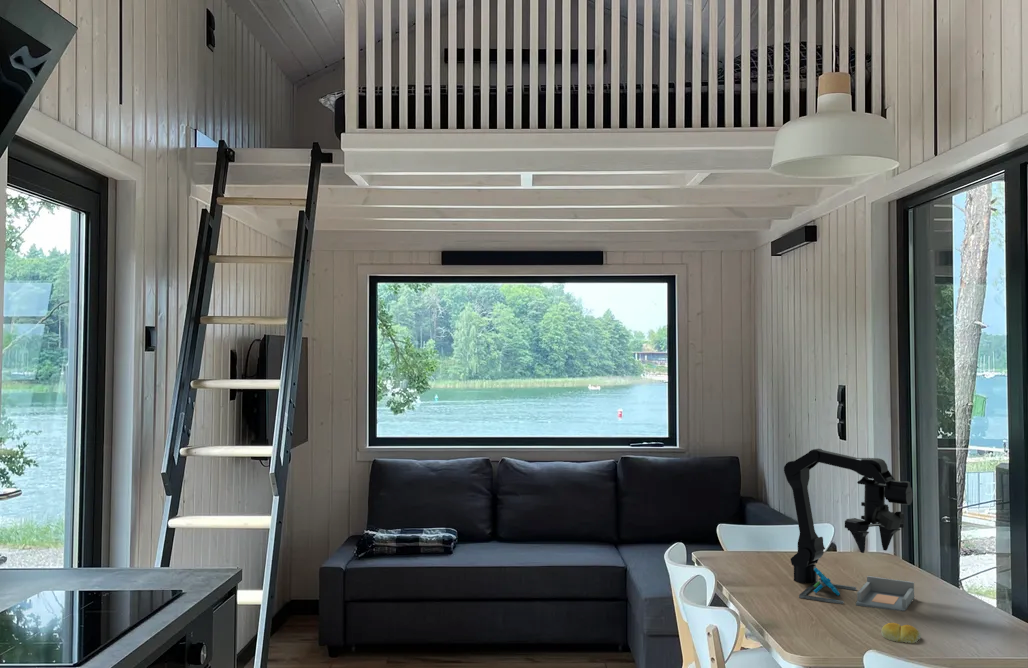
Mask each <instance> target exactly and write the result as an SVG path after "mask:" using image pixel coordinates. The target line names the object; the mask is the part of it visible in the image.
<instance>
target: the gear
mask: <svg viewBox="0 0 1028 668" xmlns="http://www.w3.org/2000/svg"><path fill="white" fill-rule="evenodd" d="M814 571H815V572H816V573H817V575H818V577H820V578H818V582H817V583H816V584H815V585H814V589H813V592H814V593H815V594H817V593H818V592H819V591H820V590H822V588H826V587H828V588H829V589H831V591H832V592H833V593H834V594H835V595H836V596H840V594H841V593H840V592H839V590H838V588H835V587H834V586H833V584H834V583H832V582H831V579H830V578H828V577H827V576H826V575H825V574H824V573H823V572H822V571H821V570H820V569H818V568H817V567H816V568H815V569H814ZM820 583H821V585H819V584H820Z"/></svg>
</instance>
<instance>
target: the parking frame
mask: <svg viewBox="0 0 1028 668" xmlns="http://www.w3.org/2000/svg"><path fill="white" fill-rule="evenodd" d="M816 583H817V581H815V582H813V583H812V584H811V583H810V584H809V586H808V587H807V588H805V589H804V590H803V591H802V592H801V593H799V595H798V598H799V599H805V600H812V601H818V602H822V603H823V602H825V603H831V604H839V605H844V602H845V601H844V600H839V599H832V598H828V597H827V598H825V597H821V596H812V595H808V594H809V593H810V592H812V591H813V590H814V589H815V587H814V585H815V584H816ZM832 584H833V586H834V587H835V588H836V589H843V590H849V591H857V586H850V585H844V584H843V585H842V584H836V583H832ZM819 585H821V583H820V584H819ZM819 585H818V586H819Z"/></svg>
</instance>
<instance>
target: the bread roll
mask: <svg viewBox="0 0 1028 668" xmlns="http://www.w3.org/2000/svg"><path fill="white" fill-rule="evenodd" d="M881 636H882V637H883V638H884V639H886V640H888V641H891V642H895V641H896V642H897V643H903V642H905V643H904V644H916V643H918V642H919V641H920V640H921V637H922V634H921V632H919V630H918V629H917V628H916V627H915V626H913V625H910V624H904V625H901V624H899V623H896V622H889V623H886V624H884V625H883V626H882V628H881ZM919 639H920V640H919ZM918 640H919V641H918ZM917 641H918V642H917ZM907 642H908V643H907ZM915 642H916V643H915Z"/></svg>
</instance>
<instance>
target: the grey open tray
mask: <svg viewBox="0 0 1028 668" xmlns="http://www.w3.org/2000/svg"><path fill="white" fill-rule="evenodd" d="M856 597H857V600H856V602H855V606H858V607H865V608H873V609H882V610H890V611H896V612H897V611H898V612H906V610H907V609H908V608H909V606H910V605H911V602H912V600H913V599H914V597H915V582H914V581H908V580H901V579H900V580H899V579H895V578H893V579H892V578H885V577H878V576H877V577H876V576H870V575H867V576H866V582H865V583H864V584H863V586H862V587H860V588H859V590H858V591H857V592H856ZM914 600H915V599H914ZM914 600H913V601H914ZM912 603H913V602H912Z"/></svg>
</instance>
